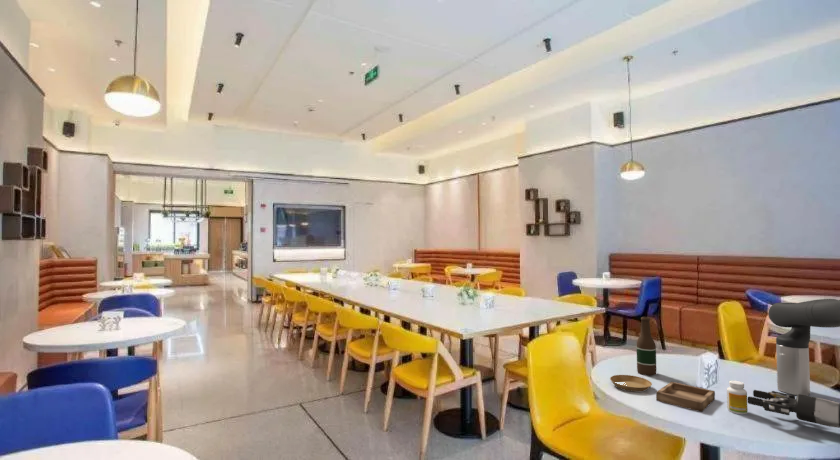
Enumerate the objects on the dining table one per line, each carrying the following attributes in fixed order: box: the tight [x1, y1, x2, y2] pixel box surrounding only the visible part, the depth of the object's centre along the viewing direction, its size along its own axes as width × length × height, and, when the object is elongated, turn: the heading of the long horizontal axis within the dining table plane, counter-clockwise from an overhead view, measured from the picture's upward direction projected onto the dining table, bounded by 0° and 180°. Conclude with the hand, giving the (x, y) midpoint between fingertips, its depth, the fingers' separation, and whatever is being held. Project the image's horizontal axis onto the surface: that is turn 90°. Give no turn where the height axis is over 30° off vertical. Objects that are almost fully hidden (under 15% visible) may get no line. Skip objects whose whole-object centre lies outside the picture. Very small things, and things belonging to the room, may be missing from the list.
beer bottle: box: [636, 316, 657, 377], centre depth 183 cm, size 8×8×24 cm
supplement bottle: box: [726, 380, 749, 415], centre depth 142 cm, size 5×5×10 cm
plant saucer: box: [609, 374, 653, 393], centre depth 166 cm, size 15×15×3 cm
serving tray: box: [655, 381, 716, 413], centre depth 152 cm, size 16×14×3 cm
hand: (750, 396), depth 139 cm, fingers open, 8 cm apart
